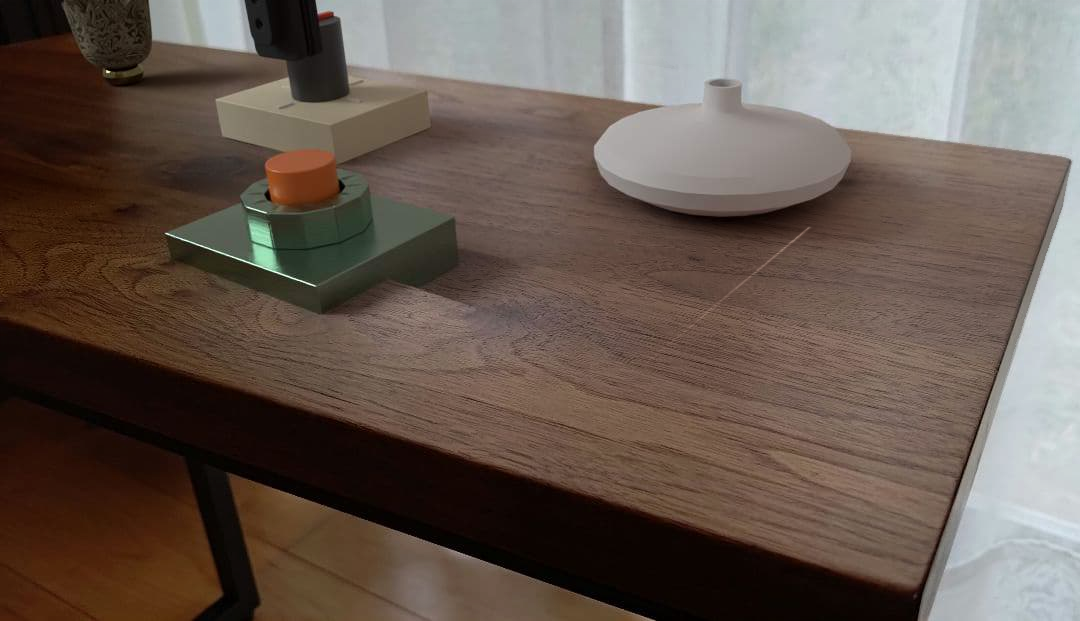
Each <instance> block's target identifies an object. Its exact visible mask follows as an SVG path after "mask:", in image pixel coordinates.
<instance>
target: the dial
mask: <svg viewBox="0 0 1080 621" xmlns="http://www.w3.org/2000/svg"><path fill="white" fill-rule="evenodd" d="M318 19H319V27H320V34H321V40H322V47H323V51H322V53H321V54H319V55H316V56H312V57H309V56H306V57H305V58H304V59H302V60H299V61H296V62H293V61H286V60H285V63H286V69H287V75H288V76H287V77H289V82H290V89H291V95H292V98H293V99H295V100H298V101H303V102H321V101H329V100H334V99H338V98H341V97H344V96H346V95H347V94H349V92H350V88H349V81H348V76H349V74H348V67H347V66H348V65H347V58H346V51H345V44H344V36H343V29H342V21H341V18H340V17H339V16H336V15H335V12H334V11H331V10H328V11H324V12H319V13H318Z"/></svg>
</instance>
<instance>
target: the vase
mask: <svg viewBox="0 0 1080 621" xmlns="http://www.w3.org/2000/svg"><path fill="white" fill-rule="evenodd" d="M742 84H743V82H741V81H740V80H738V79H734V78H728V77H727V78H724V77H722V78H721V77H719V78H711V79H708V80H706V81H705V82H704V84H703V96H702V99H703V100H702V102H693V103H692V102H691V103H684V104H683V103H682V104H675V105H674V104H673V105H665V106H660V107H656V108H651V109H646V110H642V111H638V112H636V113H633V114H630V115H628V116H625V117H622V118H621V119H619V120H617V121H616V122H614V123H612V124H611V125H609V126H608V128H607V129H606V130H605V131H604V133H602V135H601V136H600V138H599V139H598V140H597V142H596V143H595V144H594V145H593V157H594V160H595V163H596V166H597V169H598V171H599V174H600V176H601V177H602V178H603V179H604V180H605V181H606V183H607V184H608V185H609V186H610V187H612V188H614V189H615V190H618V191H619V192H621V193H623V194H625V195H627V196H629V197H631V198H634V199H637V200H640V201H642V202H644V203H647V204H649V205H653V206H654V207H658V208H661V209H665V210H668V211H671V212H676V213H681V214H686V215H692V216H702V217H703V216H704V217H717V218H720V217H721V218H722V217H746V216H747V217H748V216H753V215H760V214H762V215H763V214H767V213H771V212H775V211H779V210H782V209H786V208H789V207H791V206H792V207H793V206H795V205H798V204H801V203H804V202H808V201H811V200H814V199H816V198H818V197H819V196H822V195H824V194H826V193H827V192H830V191H831V190H833V189H834V188H835V187H836V186H837V185H838V184H839V183H840V182H841V181H842V179H843V178H844V176H845V174H846V173H847V170H848V168H849V166H850V164H851V160H852V149H851V147H850V146H849V145H848V143H847V142H846V140H845V139H844V138H843V137H842V135H841V134H840V132H839V131H838V130H837V129H836V127H834V126H833V125H831V124H830V123H828V122H826V121H824V120H822V119H821V118H819V117H815V116H812V115H809V114H807V113H803V112H801V111H796V110H792V109H787V108H782V107H778V106H771V105H762V104H755V103H743V102H742V86H743V85H742Z"/></svg>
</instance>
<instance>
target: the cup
mask: <svg viewBox="0 0 1080 621" xmlns="http://www.w3.org/2000/svg"><path fill="white" fill-rule="evenodd" d="M61 6H62V9H63V10H64V13H65V16H66V19H67V20H68V24H69V26H70V29H71V32H72V35H73V37H74V39H75V42H76V44H77V46H78V48H79V50H80V52H81V54H82V55H83V57H84V58H85V59H86V60H87V61H88V62H89V63H90V64H92V65H93V66H95V67H97V68H100V69H102V73H101V74H102V75H101V76H102V79H103V80H104V81H105V83H107V84H109V85H112V86H127V85H133V84H135V83H136V84H137V83H138V82H140V81H141V80H142V79H143V78H144V74H145V70H144V68H143V66H142V65H141V63H143V62H144V61H146V60H147V58H148V57H149V55H150V54H151V51H152V47H153V29H152V18H151V8H150V0H63V1H61Z"/></svg>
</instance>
